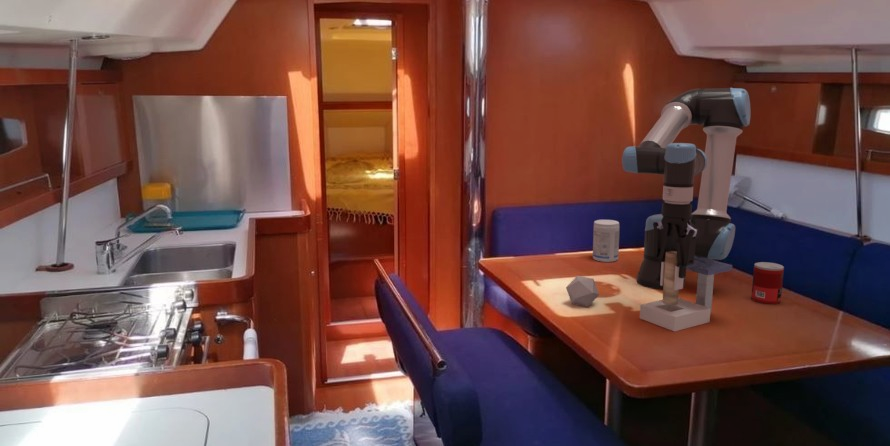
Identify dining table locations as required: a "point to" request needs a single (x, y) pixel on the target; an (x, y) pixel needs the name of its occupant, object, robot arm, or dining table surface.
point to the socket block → (675, 314)
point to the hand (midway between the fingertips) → (671, 286)
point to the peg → (670, 279)
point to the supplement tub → (606, 240)
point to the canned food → (767, 282)
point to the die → (582, 291)
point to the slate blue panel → (706, 278)
